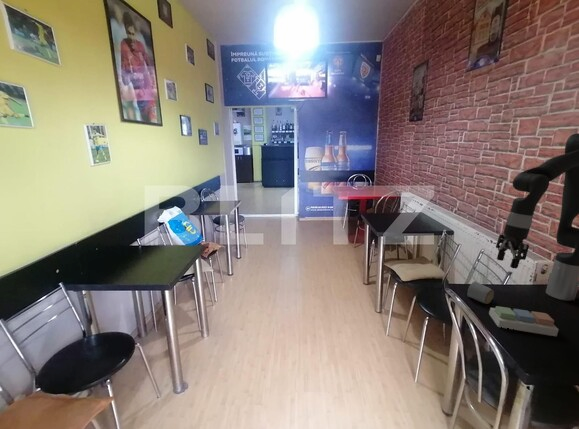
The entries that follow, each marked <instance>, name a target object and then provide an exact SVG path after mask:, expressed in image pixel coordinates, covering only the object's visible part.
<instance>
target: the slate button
mask: <svg viewBox="0 0 579 429" xmlns="http://www.w3.org/2000/svg"><path fill="white" fill-rule="evenodd" d="M512 311H513V312H514V313H515V315H516V317H515V318H516V319H517V320H518V321H522V322H529V323H534V320H535V318H534V316H533V315H532V314H531V311H529V310H526V309H519V308H512Z"/></svg>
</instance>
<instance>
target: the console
mask: <svg viewBox="0 0 579 429" xmlns="http://www.w3.org/2000/svg"><path fill="white" fill-rule="evenodd" d="M488 315H489V316H490V318H491V319H492V321H493V322H494V324H495V325H496V326H497V327H498V328H501V327H502V328H503V329H507V328H509V330H513V329H514V330H515V331H520V332H525V333H526V332H527V333H533V334H539V335H545V336H550V337H552V336H553V337H558V332H559V330H560V329H559V328H558V327H557V326H556V325H555V324H553V326H548V325H542V324H537V323H536V322H535V321H534V323H529V322H522V321H518V320H517V319H516V318H515V320H509V319H503V318H499V317H498V315H497V314H496V313H495V307H490V308H489V311H488ZM514 330H513V331H514Z"/></svg>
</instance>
